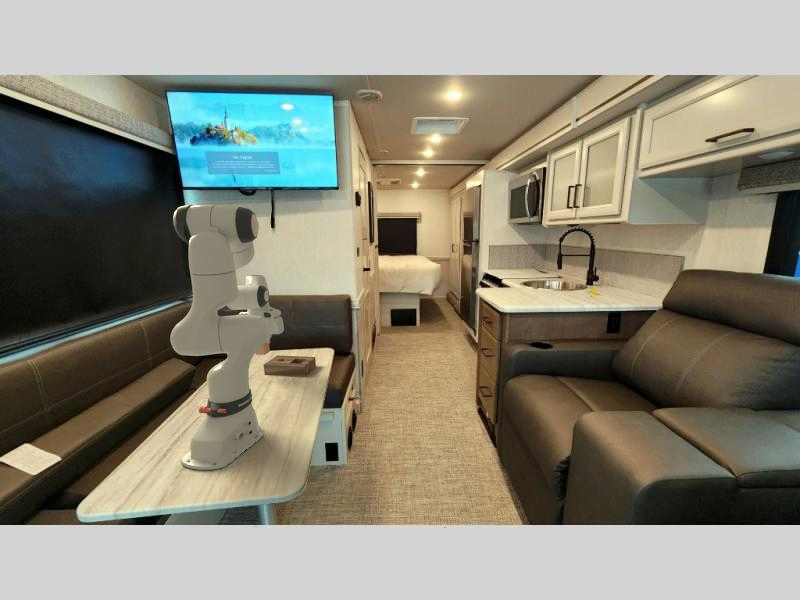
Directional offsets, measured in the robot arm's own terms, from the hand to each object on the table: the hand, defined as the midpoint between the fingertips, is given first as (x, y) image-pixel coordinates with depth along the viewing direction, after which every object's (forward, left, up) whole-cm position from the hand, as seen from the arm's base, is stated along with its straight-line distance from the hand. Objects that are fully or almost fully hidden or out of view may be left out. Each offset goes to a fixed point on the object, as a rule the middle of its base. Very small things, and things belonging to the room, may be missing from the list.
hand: (261, 343), depth 137 cm
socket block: (+10, -7, -17) cm, 21 cm away
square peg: (0, 0, -5) cm, 5 cm away
